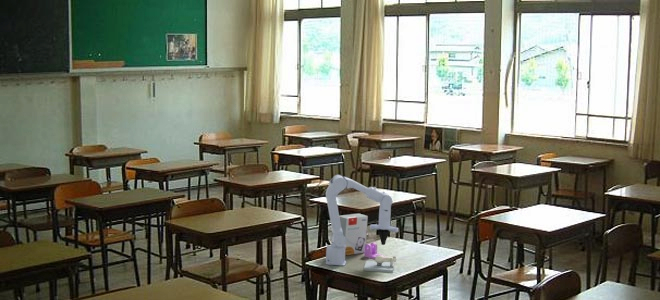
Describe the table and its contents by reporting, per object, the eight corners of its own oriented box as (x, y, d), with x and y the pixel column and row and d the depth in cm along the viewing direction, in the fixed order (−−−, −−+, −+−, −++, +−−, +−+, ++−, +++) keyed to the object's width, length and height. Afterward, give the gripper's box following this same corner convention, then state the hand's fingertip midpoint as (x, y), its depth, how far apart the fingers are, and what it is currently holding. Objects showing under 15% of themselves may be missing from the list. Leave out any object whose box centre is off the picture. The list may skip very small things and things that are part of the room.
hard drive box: (343, 256, 419) (345, 218, 416) (334, 253, 425) (335, 215, 422) (366, 252, 428) (368, 215, 426) (356, 249, 434) (358, 212, 432)
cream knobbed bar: (375, 262, 397) (376, 257, 397) (375, 260, 401) (375, 255, 401) (396, 263, 398) (396, 257, 397) (395, 261, 402) (395, 255, 401)
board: (363, 270, 394) (364, 259, 393) (366, 262, 408) (366, 252, 407) (392, 272, 392) (393, 261, 391) (394, 265, 406) (394, 254, 405)
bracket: (364, 256, 420) (364, 243, 420) (371, 254, 424) (371, 241, 424) (383, 261, 412) (384, 248, 411) (390, 260, 416) (391, 246, 415)
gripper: (368, 217, 403) (367, 244, 405) (396, 221, 398) (394, 247, 400) (372, 215, 410) (371, 241, 412) (400, 218, 405) (398, 244, 406)
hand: (383, 244), depth 406 cm, fingers closed
